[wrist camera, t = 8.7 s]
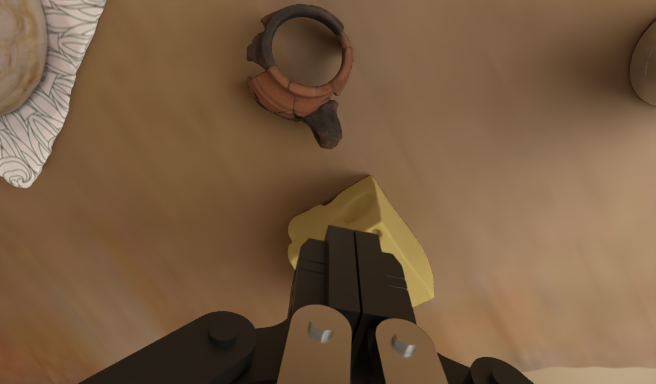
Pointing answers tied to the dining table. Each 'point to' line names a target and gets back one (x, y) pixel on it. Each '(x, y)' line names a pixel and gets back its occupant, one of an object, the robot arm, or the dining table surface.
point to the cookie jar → (38, 77)
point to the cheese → (369, 216)
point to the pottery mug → (289, 96)
